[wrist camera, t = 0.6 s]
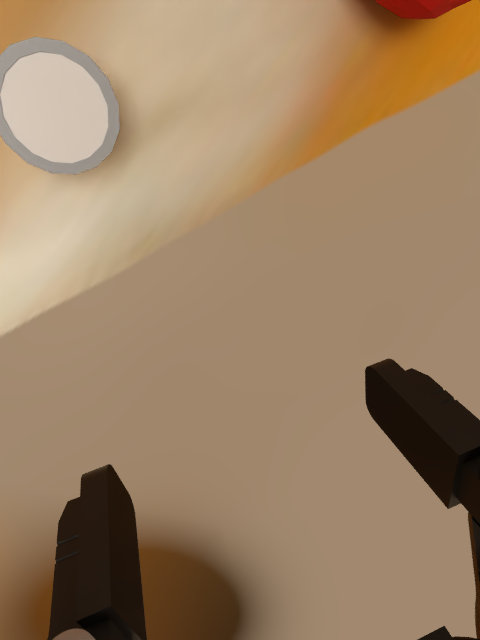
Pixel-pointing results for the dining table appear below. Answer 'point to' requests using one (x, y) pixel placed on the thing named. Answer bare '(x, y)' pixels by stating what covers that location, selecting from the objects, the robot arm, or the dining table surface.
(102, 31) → the dining table surface
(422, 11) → the tomato
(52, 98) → the white cylindrical piece
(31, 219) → the dining table surface
